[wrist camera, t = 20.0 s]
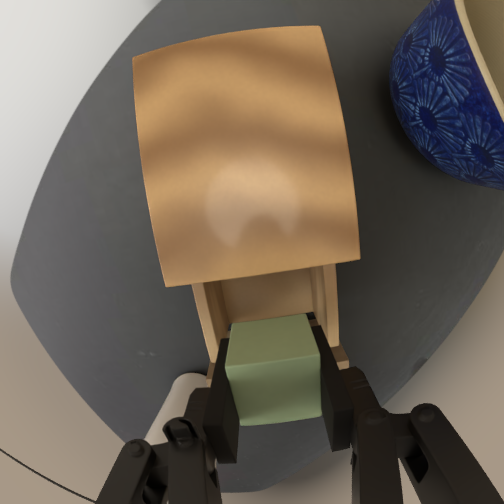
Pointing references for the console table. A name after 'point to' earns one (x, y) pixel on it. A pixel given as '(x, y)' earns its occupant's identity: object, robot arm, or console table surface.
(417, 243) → the console table surface
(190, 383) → the drinking glass
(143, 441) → the robot arm
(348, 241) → the cabinet
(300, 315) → the block
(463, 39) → the planter
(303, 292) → the drawer
